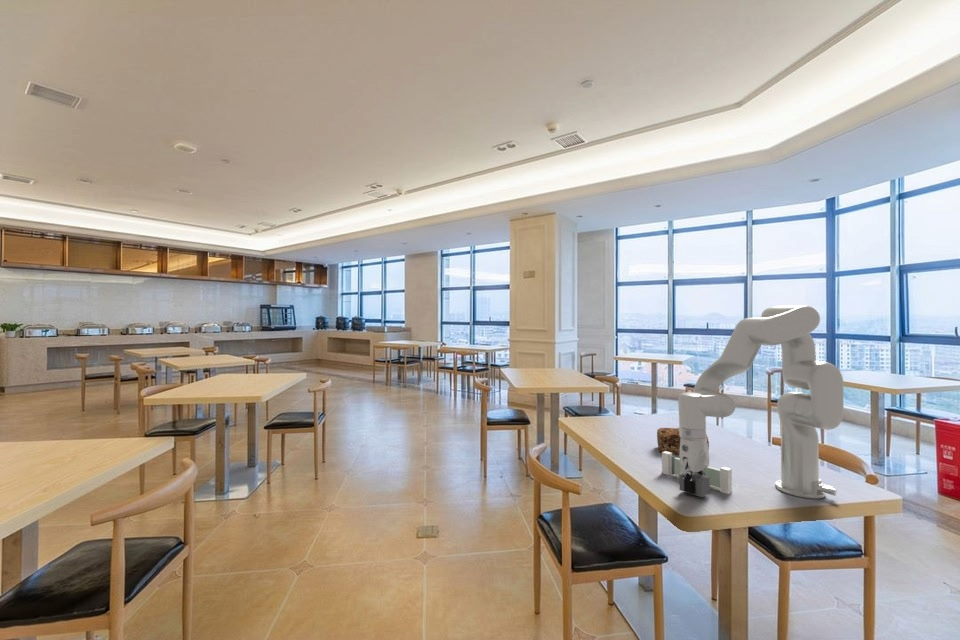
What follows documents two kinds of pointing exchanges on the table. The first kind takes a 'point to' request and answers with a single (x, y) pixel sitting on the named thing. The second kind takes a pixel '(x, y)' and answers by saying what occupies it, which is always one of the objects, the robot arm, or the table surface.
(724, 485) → the door frame
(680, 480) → the block
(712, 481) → the door
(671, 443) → the bread
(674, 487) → the table surface
